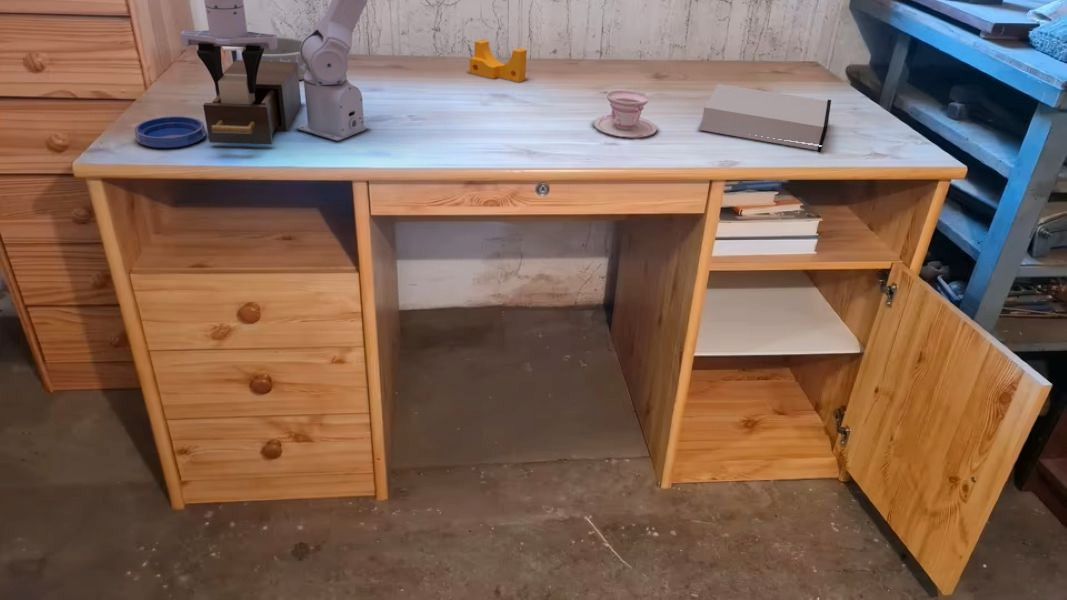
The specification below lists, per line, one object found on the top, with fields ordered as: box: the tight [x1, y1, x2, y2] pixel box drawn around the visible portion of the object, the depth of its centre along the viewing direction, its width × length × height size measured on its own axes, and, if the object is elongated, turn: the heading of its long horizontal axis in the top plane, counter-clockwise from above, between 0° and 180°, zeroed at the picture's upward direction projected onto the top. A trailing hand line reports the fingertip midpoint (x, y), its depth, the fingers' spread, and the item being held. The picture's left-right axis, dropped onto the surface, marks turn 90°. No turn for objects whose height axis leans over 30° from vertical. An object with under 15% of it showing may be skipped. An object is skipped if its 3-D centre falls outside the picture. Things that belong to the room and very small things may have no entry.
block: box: [218, 74, 255, 104], centre depth 129 cm, size 4×4×4 cm
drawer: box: [202, 88, 281, 145], centre depth 131 cm, size 17×10×6 cm, turn 4°
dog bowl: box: [244, 35, 308, 81], centre depth 166 cm, size 17×18×5 cm
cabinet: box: [214, 60, 302, 131], centre depth 140 cm, size 14×11×8 cm
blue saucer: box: [134, 115, 207, 149], centre depth 130 cm, size 11×11×2 cm
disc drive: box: [699, 83, 832, 153], centre depth 152 cm, size 18×22×5 cm
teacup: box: [593, 88, 658, 138], centre depth 147 cm, size 12×12×6 cm
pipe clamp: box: [468, 39, 528, 83], centre depth 171 cm, size 12×4×6 cm, turn 58°
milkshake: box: [221, 46, 244, 72], centre depth 153 cm, size 4×5×10 cm
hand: (236, 91), depth 129 cm, fingers closed on block, 4 cm apart
